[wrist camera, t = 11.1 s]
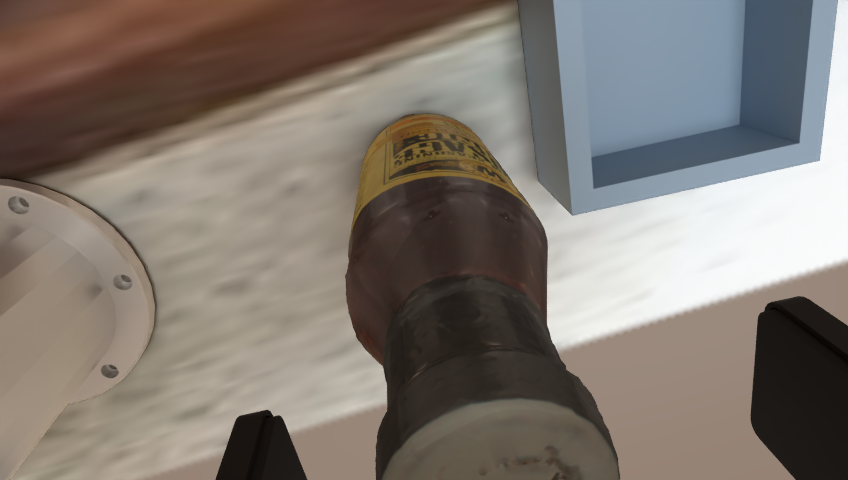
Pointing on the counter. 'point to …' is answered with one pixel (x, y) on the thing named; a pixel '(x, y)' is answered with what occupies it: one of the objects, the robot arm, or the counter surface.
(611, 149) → the caddy
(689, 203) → the counter surface
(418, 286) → the sauce bottle
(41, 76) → the counter surface
